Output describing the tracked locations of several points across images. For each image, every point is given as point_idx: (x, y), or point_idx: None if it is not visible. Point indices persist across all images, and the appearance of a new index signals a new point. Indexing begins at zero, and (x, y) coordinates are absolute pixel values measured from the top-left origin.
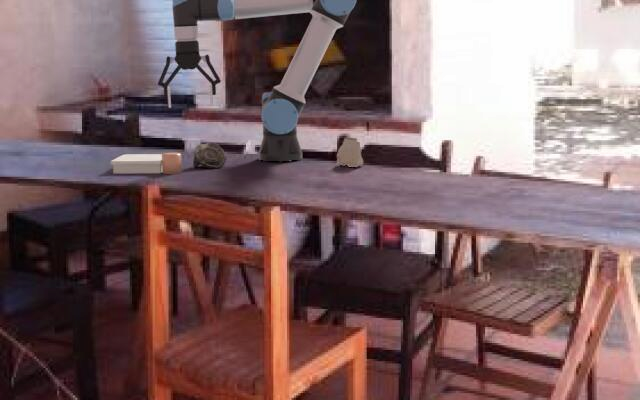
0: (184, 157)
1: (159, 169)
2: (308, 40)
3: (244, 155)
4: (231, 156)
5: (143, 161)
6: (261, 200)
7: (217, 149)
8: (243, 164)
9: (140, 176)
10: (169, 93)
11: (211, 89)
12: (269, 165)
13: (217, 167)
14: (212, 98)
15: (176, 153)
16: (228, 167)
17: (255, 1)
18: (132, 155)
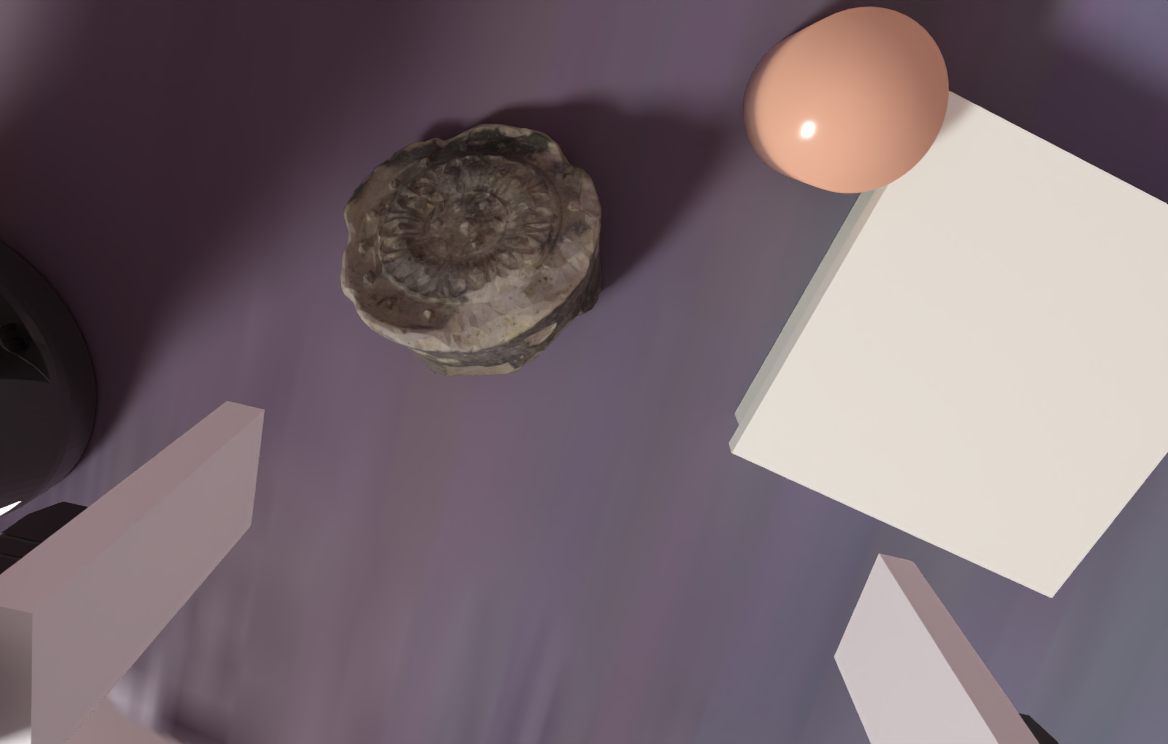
0: (540, 728)
1: None
2: None
3: (163, 641)
4: (250, 638)
5: (1072, 155)
6: None
7: (389, 272)
8: (233, 255)
9: (1099, 16)
10: (994, 722)
11: (59, 547)
12: (53, 111)
13: (451, 139)
14: (167, 449)
15: (807, 110)
16: (364, 160)
17: None
18: (1020, 513)
